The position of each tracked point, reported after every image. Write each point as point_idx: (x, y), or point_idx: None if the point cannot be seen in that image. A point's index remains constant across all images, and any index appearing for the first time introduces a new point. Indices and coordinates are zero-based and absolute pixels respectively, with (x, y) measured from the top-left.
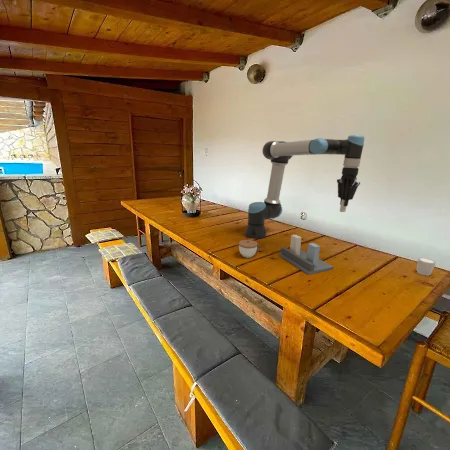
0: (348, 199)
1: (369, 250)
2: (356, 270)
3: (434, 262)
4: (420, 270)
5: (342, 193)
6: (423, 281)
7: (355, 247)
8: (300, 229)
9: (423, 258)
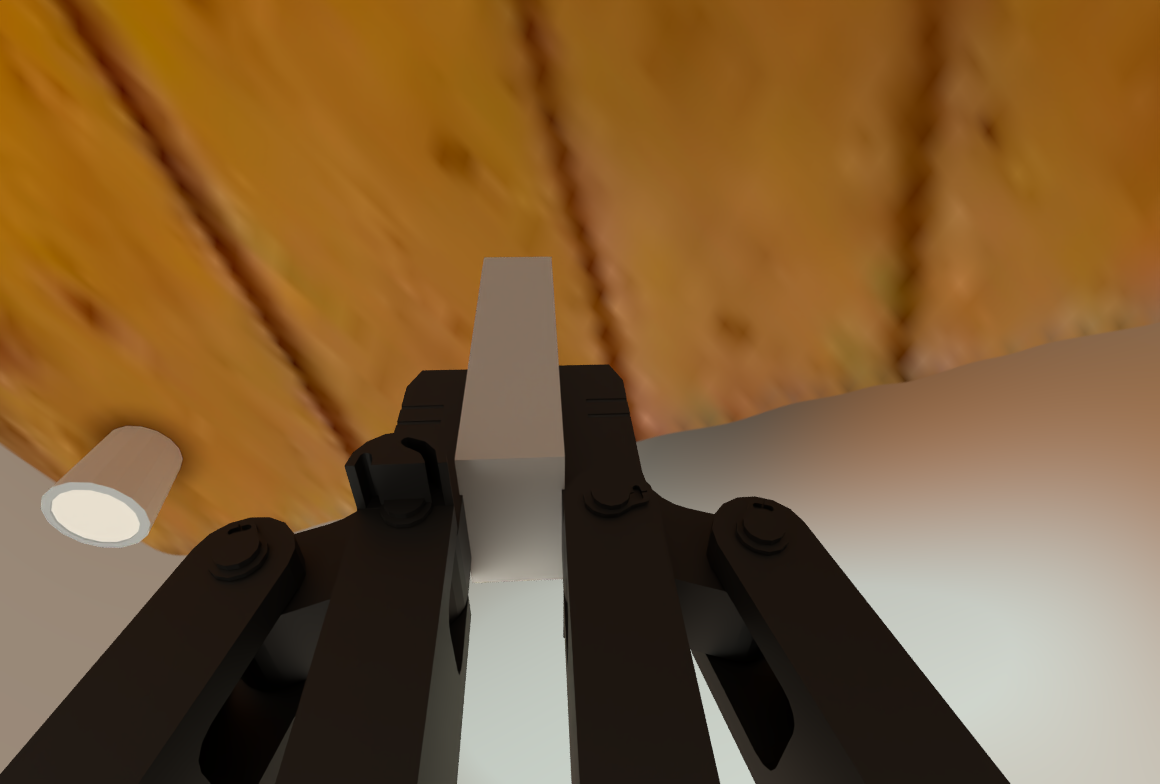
0: (230, 524)
1: None
2: (208, 34)
3: (58, 527)
4: (117, 440)
5: (619, 703)
6: (13, 357)
7: None
8: (1134, 312)
9: (135, 526)
